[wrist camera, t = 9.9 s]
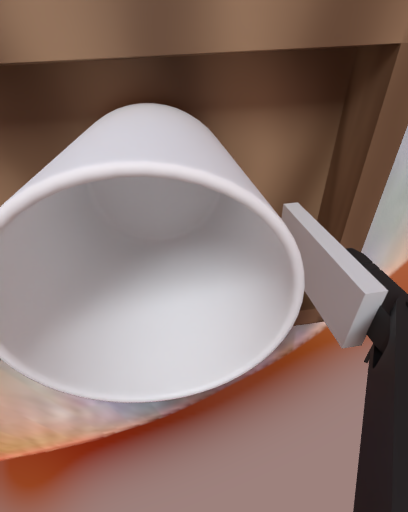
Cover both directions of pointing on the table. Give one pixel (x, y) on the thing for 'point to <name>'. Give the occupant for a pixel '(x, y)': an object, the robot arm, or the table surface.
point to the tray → (221, 90)
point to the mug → (143, 264)
